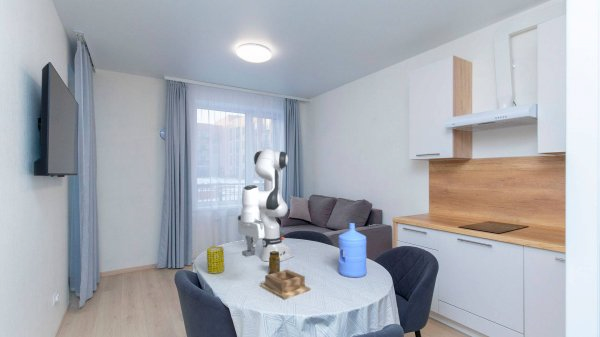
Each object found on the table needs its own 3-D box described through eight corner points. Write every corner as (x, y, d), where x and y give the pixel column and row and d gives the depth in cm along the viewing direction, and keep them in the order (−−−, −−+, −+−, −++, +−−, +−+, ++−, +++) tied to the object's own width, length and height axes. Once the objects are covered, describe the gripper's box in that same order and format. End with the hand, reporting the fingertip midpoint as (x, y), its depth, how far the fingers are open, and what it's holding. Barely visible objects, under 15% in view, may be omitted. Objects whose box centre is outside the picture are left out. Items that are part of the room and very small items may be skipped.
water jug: (369, 270, 168) (368, 222, 169) (363, 279, 154) (362, 227, 155) (343, 267, 175) (342, 220, 175) (335, 275, 161) (334, 225, 161)
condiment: (278, 270, 169) (277, 250, 170) (283, 275, 162) (283, 253, 162) (266, 272, 166) (266, 251, 166) (271, 277, 159) (271, 255, 159)
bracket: (250, 253, 149) (250, 233, 149) (254, 254, 145) (254, 234, 146) (242, 255, 145) (241, 235, 145) (246, 256, 142) (245, 236, 142)
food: (226, 271, 172) (218, 278, 162) (208, 266, 174) (199, 272, 165) (231, 247, 171) (223, 253, 161) (213, 242, 173) (204, 247, 163)
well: (285, 278, 156) (285, 267, 156) (310, 290, 141) (310, 277, 141) (260, 286, 146) (260, 274, 146) (284, 299, 131) (284, 286, 131)
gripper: (267, 219, 141) (267, 248, 141) (246, 214, 156) (246, 240, 156) (256, 221, 136) (256, 250, 136) (235, 216, 152) (236, 242, 152)
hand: (251, 245), depth 146 cm, fingers closed on bracket, 4 cm apart
